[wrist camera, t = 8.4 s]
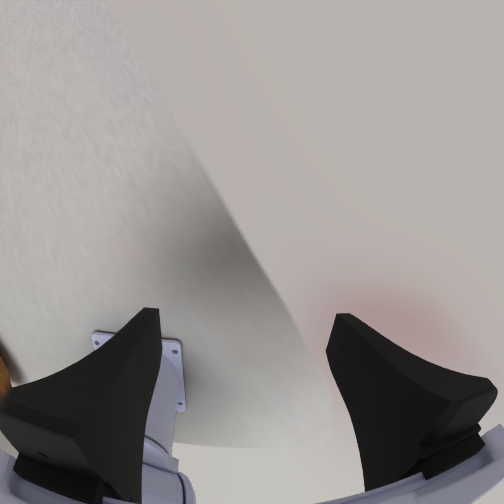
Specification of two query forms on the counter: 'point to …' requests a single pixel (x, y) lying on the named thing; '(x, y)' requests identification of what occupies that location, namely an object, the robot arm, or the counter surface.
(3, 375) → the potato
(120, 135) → the counter surface
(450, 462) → the robot arm
